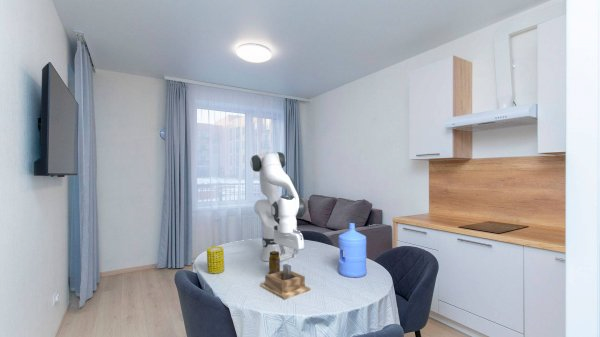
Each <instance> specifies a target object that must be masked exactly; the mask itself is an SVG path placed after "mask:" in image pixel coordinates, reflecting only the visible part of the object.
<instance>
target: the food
mask: <svg viewBox="0 0 600 337" xmlns="http://www.w3.org/2000/svg"><path fill="white" fill-rule="evenodd" d="M224 252H225V251H224V247H223V246H215V245H214V246H213V245H212V246H209V247H208V248H207V249H206V260H207V261H206V262H207V264H206V265H207V272H208V274H219V275H220V273H222V272H224V271H225V254H224Z"/></svg>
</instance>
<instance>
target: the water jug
mask: <svg viewBox="0 0 600 337" xmlns="http://www.w3.org/2000/svg"><path fill="white" fill-rule="evenodd" d="M348 224H349V226H348V227H349V229H348V230H347V231H345V232H343V233H341V234H339V235H338V248H339V259H338V273H339V274H340V275H341V276H343V277H347V278H354V277H356V278H361V277H364V276H366V274H367V270H368V269H367V236H366V235H364V234H362V233H360V232H359V231H356V226H355V225H356V223H354V222H353V223H352V222H350V223H348Z"/></svg>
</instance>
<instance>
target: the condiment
mask: <svg viewBox="0 0 600 337" xmlns="http://www.w3.org/2000/svg"><path fill="white" fill-rule="evenodd" d="M268 266H269V267H268V270H269V271H266V274H267V275H269V274H273V273H276V272H280V271H281V261H280V257H279V252H278V251H272V252H270V257H269V261H268Z"/></svg>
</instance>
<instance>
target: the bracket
mask: <svg viewBox="0 0 600 337" xmlns="http://www.w3.org/2000/svg"><path fill="white" fill-rule="evenodd" d="M282 271H283V281H285V280H288V279H291V271H292V265H290V264H288V263H284V264H283V265H282Z"/></svg>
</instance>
